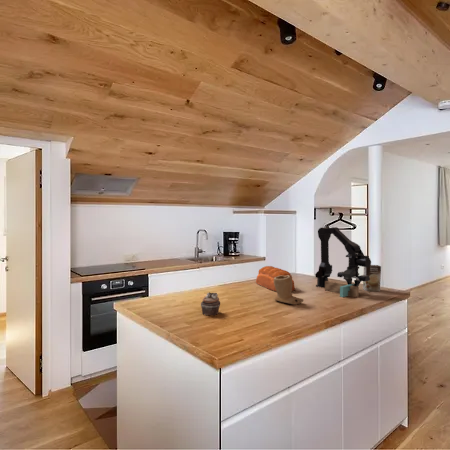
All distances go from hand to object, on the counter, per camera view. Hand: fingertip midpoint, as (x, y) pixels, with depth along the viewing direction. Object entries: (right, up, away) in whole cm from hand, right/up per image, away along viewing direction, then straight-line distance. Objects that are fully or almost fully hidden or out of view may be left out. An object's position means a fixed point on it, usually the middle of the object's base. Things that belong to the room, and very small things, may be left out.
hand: (352, 290), depth 214 cm
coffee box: (+16, -2, +11) cm, 19 cm away
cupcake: (-86, -4, -42) cm, 96 cm away
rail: (-7, -2, +1) cm, 7 cm away
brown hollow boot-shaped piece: (-45, -3, -21) cm, 50 cm away
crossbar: (-4, -2, -3) cm, 6 cm away
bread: (-45, -2, +19) cm, 49 cm away
